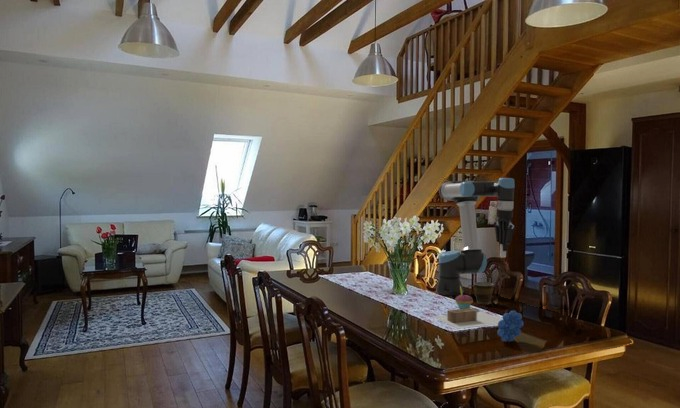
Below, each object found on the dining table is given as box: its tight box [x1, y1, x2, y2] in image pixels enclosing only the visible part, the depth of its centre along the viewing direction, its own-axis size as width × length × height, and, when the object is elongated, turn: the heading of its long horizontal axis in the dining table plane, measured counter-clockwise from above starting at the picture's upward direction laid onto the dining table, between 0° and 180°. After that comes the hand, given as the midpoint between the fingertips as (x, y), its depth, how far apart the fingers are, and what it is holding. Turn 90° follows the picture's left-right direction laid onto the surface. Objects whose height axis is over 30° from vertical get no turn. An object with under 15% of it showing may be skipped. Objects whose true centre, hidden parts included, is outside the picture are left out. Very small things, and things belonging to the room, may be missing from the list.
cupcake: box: [454, 286, 474, 309], centre depth 235 cm, size 9×8×12 cm
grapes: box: [496, 309, 525, 342], centre depth 186 cm, size 12×7×12 cm, turn 109°
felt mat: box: [434, 311, 503, 330], centre depth 215 cm, size 20×26×1 cm
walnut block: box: [446, 307, 478, 323], centre depth 213 cm, size 5×4×12 cm
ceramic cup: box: [467, 281, 495, 306], centre depth 248 cm, size 13×10×10 cm
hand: (502, 257), depth 236 cm, fingers closed
